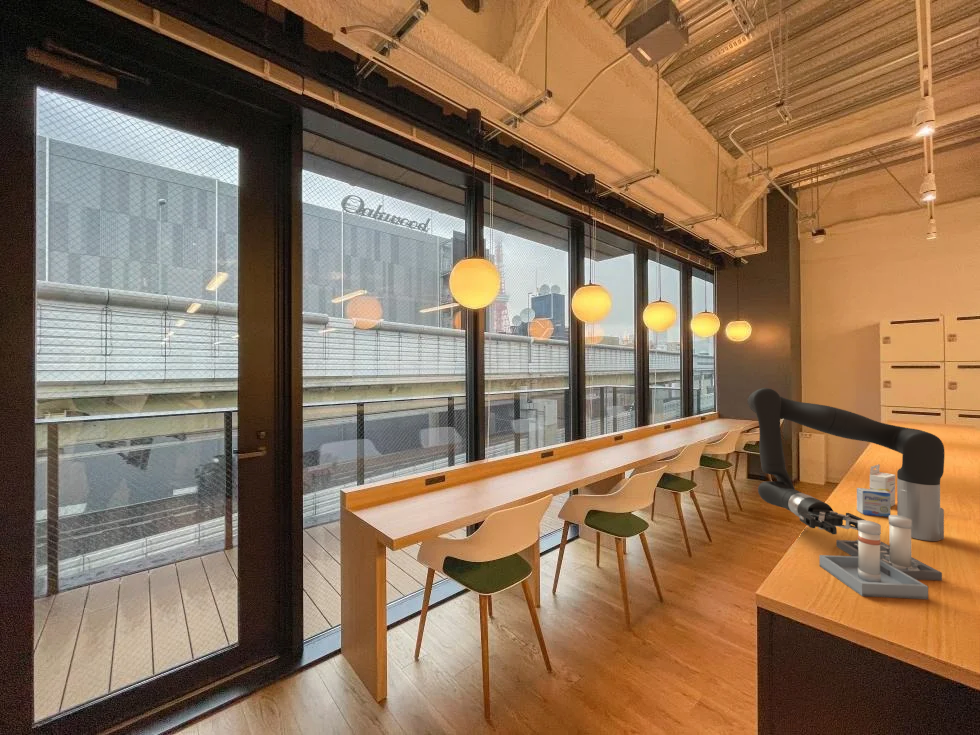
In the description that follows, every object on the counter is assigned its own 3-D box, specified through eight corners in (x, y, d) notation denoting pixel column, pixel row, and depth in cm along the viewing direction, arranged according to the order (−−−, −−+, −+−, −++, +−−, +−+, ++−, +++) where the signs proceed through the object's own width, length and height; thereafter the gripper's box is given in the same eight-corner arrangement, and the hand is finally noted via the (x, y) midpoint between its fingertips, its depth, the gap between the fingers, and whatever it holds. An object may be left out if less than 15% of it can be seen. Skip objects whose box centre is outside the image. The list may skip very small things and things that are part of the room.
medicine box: (862, 514, 143) (862, 490, 143) (856, 510, 147) (856, 487, 147) (891, 517, 140) (890, 493, 140) (884, 513, 144) (884, 489, 144)
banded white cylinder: (871, 574, 102) (871, 520, 102) (885, 583, 98) (885, 527, 97) (853, 573, 102) (853, 519, 102) (867, 582, 98) (867, 526, 98)
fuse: (902, 567, 106) (901, 515, 106) (917, 575, 102) (916, 521, 102) (884, 566, 107) (884, 514, 107) (898, 574, 103) (898, 520, 103)
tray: (876, 568, 106) (876, 557, 106) (928, 599, 92) (928, 586, 92) (819, 566, 108) (819, 555, 107) (862, 596, 94) (862, 583, 94)
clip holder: (881, 548, 117) (881, 539, 117) (941, 580, 100) (942, 570, 100) (836, 546, 119) (836, 538, 118) (888, 578, 101) (888, 568, 101)
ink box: (886, 509, 148) (886, 469, 148) (869, 504, 152) (869, 466, 152) (896, 504, 152) (896, 466, 152) (878, 501, 156) (878, 463, 156)
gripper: (784, 496, 122) (823, 516, 106) (834, 497, 121) (882, 518, 105) (785, 520, 122) (823, 544, 106) (835, 521, 121) (882, 546, 105)
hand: (852, 531), depth 105 cm, fingers open, 8 cm apart
